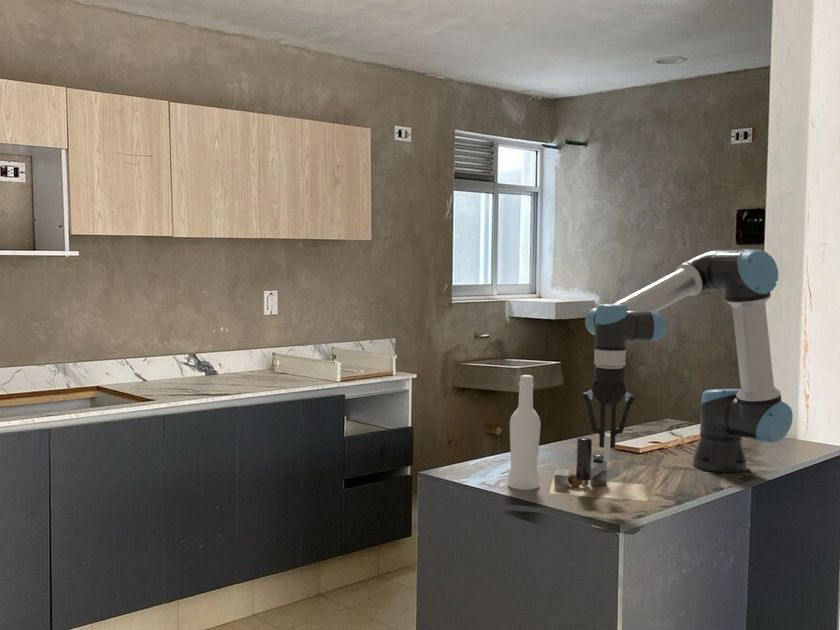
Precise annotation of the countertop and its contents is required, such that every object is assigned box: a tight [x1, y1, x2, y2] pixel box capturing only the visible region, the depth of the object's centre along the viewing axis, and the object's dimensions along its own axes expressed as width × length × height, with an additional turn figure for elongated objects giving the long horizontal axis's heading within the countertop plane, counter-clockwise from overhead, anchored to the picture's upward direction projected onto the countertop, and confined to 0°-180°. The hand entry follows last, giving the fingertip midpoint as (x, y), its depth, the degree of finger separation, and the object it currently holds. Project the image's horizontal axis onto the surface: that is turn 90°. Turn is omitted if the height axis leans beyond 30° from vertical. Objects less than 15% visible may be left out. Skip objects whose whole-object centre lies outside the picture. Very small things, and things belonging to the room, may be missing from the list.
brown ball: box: [568, 472, 582, 487], centre depth 221 cm, size 4×4×4 cm
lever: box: [575, 437, 608, 487], centre depth 219 cm, size 4×15×14 cm, turn 148°
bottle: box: [507, 374, 542, 491], centre depth 221 cm, size 8×8×30 cm
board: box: [548, 469, 649, 502], centre depth 220 cm, size 24×16×5 cm, turn 78°
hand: (606, 460), depth 213 cm, fingers closed
